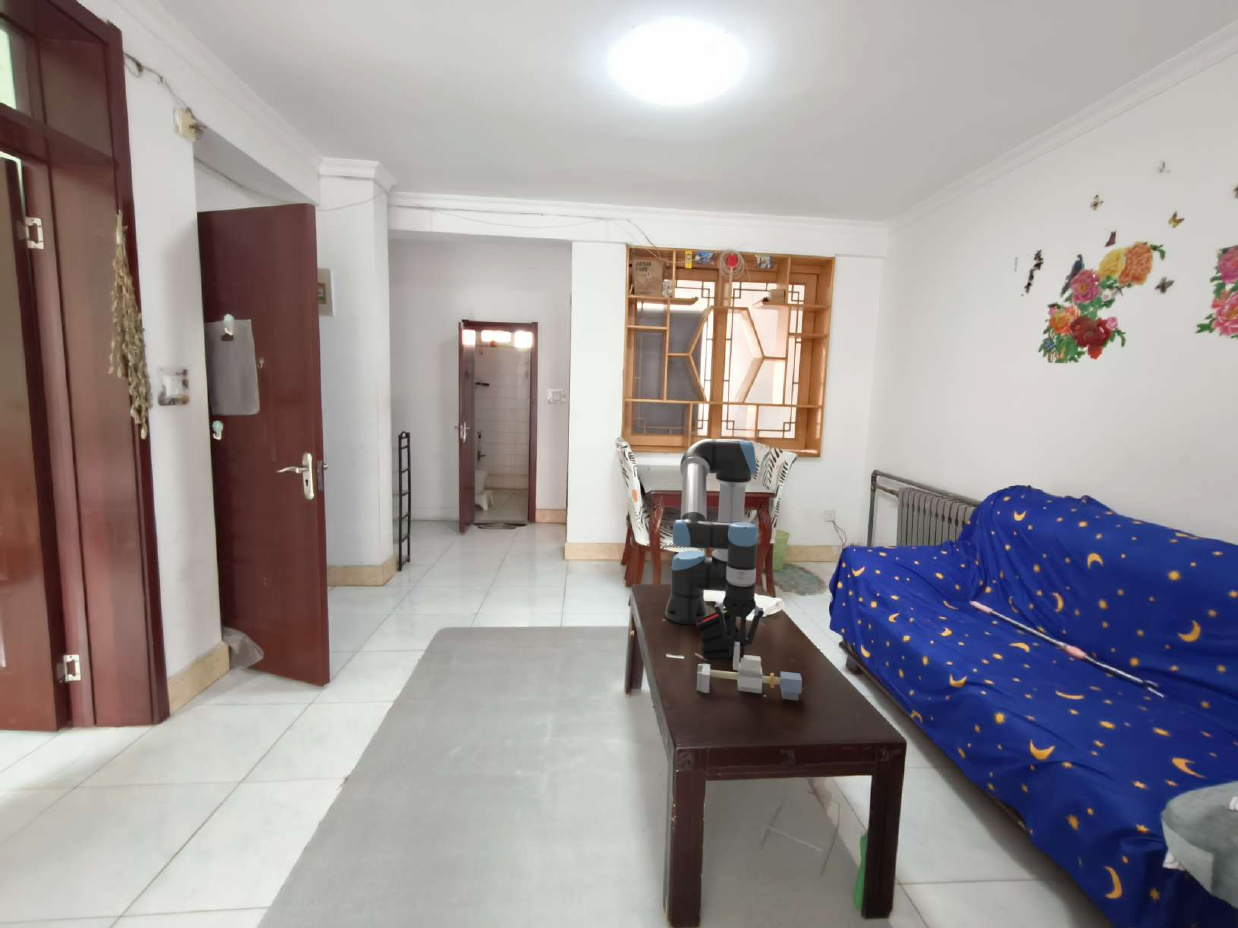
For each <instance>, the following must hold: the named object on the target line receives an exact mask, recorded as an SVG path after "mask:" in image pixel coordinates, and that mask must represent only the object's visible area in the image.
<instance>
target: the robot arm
mask: <svg viewBox="0 0 1238 928" xmlns="http://www.w3.org/2000/svg"><path fill="white" fill-rule="evenodd" d="M756 460H757V459H756V452H755V446H754V444H753V442H751V440H744V439H724V438H723V439H719V438H717V439H715V438H705V439H701V440H698V441H696V442H695V443H693V444H692V445H690V447H688V448H687V450H686V451H685V452H684V454H683V455H682V458H681V459H680V464H679V470H680V474H681V475H682V483H681V484H682V487H681V505H680V519H675V520H673V527H672V544H673V545H674V546H675V547H681V548H689V549H690V548H691V549H693V548H694V549H696V548H697V549H713V550H712V552H711V556H707V554H706V553H705V552H704V551H701V550H700V551H699V550H687V551H686V550H685V551H681V552H678V553H677V554H675V555H674V556H673V558H672V562H671V564H672V565H671V582H670V583H671V586H670V589H671V590H670V595H669V599H668V601H667V604H666V606H665V614H664V615H665V617H666V619H668V621H671V622H674V623H677V624H680V625H681V624H682V625H696V624H697V623H696V621H697V620H699V619H702V618H704V617H706V616H708V615H709V611H708V608H707V604H706V601H705V597H704V594H705V593H704V592H705V591H714V592H725V593H724V598H723V600H722V602H720V603H715V604H714V611H715V612H716V613H717V614H718V617H719V622H720V627H721V632H722V637H723V641H724V642H727V643H729V644H730V648H729V654H730V656H733V658H732V659H733V660H732V669H733V671H738V670H739V663H740V658H741V657H744V655H745V646H747V645H748V646H750V645H752V644H753V641H754V638H755V635H756V632H757V628H758V624H759V623H760V619H761V618H762V617H763V616H764V615H765V612H764V608H762V607H759V606H758V605H757V603H756V600H755V593H756V585H755V583H756V577H757V575H756V574H757V573H756V572H757V555H758V543H759V528H758V526H757V525H756V524H753V523H752V522H745V521H744V516H745V515H744V514H745V500H746V486H747V484H749V483H750V482H751V480H752V479H751V478H752V477H753V476H755V475H756V473H757V461H756ZM709 474H715V480H717V482H718V483H719V495H718V496H719V498H718V512H717V513H718V518H717V521H708V520H707V476H708V475H709ZM724 608H726V609H727V611H728V612H729V614H730V615H731V628H730V637H729V636H728V635H727V630H726V625H725V620H724V615H723V611H724ZM752 612H753V614H754V615H753V618H752V621H751V623H750V627H749V630H748V634H747V636H746V626H747V624H746V623H747V617H749V615H750V614H751V613H752ZM737 618H740V629H739V642H735V629H736V626H737V625H736V624H737Z"/></svg>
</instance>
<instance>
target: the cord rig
mask: <svg viewBox="0 0 1238 928" xmlns="http://www.w3.org/2000/svg"><path fill="white" fill-rule="evenodd" d="M696 675H697V676H696V691H698V692H701V693H705V694H706V693H708V694H709V693H710V682H711V681H710V680H711V679H710V678H717V679H726V680H727V679H728V680H736V681H737V680H738V676H739V673H738V672H736V671H735V672H734V671H725V670H717V669H716V670H715V669H711V664H710V663H709V664H708V663H698V664H697V672H696ZM802 679H803V678H802V676H801V673H800V672H799V673H798V672H797V673H796V672H791V671H790V672H789V671H780V675H779V677H777V676H775V673H774V672H770V674H769V675H763V676H762V684H769V687H770V688H772V689H774V688H775V685H778V686H779V687H780V691H781V693H780V694H781V698H782V699H783V700H788V701H789V700H790V701H798V702H799V701H800V700H799V697H800V694H802V687H803V680H802Z"/></svg>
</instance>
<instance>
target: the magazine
mask: <svg viewBox="0 0 1238 928" xmlns="http://www.w3.org/2000/svg"><path fill="white" fill-rule="evenodd" d="M723 615H724V620H725V625H726V630H727V635H728V636H729V637H730V628H731V615H730V614H729V612H728V611H727V609H726V608H725V607H724V611H723ZM696 623H697V624H695V626H696V628H697V630H698V632H699V633H700V640H701V642H702V646H700V649H701V652H702V656H703V658H704V659H733V656H730V654H729V648H730V644H729V643H727V642H724V641H723V637H722V632H721V627H720V622H719V617H718V614H717V613H716V611H715V612H712V613H711V614H708V616H706V617H704V618H702V619H699V620H697V621H696ZM739 633H740V629H739V628H738V627H737V625H736V629H735V642H740V636H739Z"/></svg>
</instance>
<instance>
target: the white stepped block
mask: <svg viewBox="0 0 1238 928" xmlns="http://www.w3.org/2000/svg"><path fill="white" fill-rule="evenodd" d="M761 664H762V659H761V656H758V655H749V654H748V655H747V654H744V657H740V662H739V670H737V673H739V676H738V680H736V683H737V691H739V692H746V693H756V694H762V693H763V692H762V691H763V683H762V676H764V674H763V668H762V665H761Z"/></svg>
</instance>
